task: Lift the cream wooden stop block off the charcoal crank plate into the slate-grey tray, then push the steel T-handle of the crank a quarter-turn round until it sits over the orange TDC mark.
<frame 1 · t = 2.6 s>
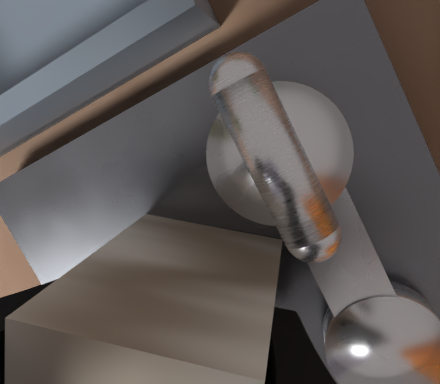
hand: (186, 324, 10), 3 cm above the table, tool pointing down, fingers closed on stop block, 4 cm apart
crank: (346, 280, 9), point 4 cm above the table, hinge at 90.0°
stop block: (203, 290, 12), point 1 cm above the table, touching crank plate, gripper
crank plate: (240, 256, 13), on the table
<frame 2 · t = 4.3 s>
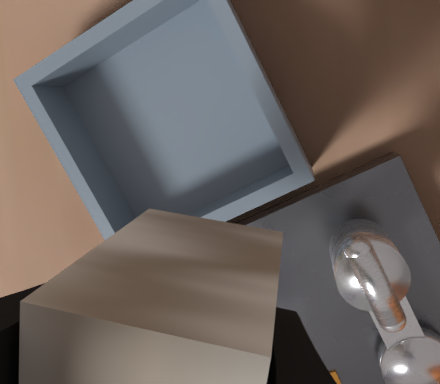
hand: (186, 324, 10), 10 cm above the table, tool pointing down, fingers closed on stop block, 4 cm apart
tray: (178, 123, 19), on the table
crank: (400, 332, 16), point 4 cm above the table, hinge at 90.0°
stop block: (206, 282, 12), point 8 cm above the table, touching gripper
crank plate: (319, 306, 20), on the table
when the fingers open (4 cm above the table, at t = 6.0 s): stop block drops 1 cm, resting on tray.
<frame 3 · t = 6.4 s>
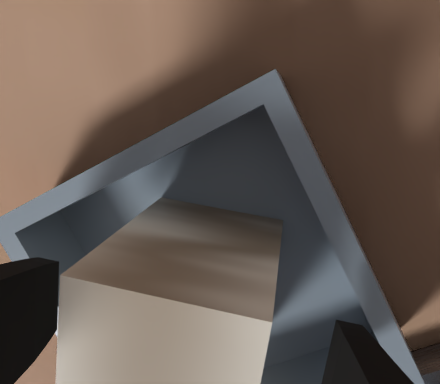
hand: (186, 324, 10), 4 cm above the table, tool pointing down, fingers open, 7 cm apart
tray: (216, 260, 14), on the table
stop block: (212, 265, 14), point 1 cm above the table, touching tray
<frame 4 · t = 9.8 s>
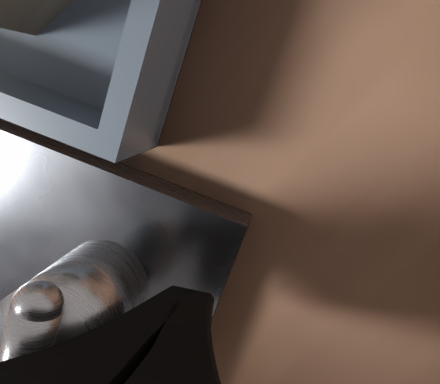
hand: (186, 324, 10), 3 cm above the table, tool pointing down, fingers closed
crank plate: (37, 291, 14), on the table
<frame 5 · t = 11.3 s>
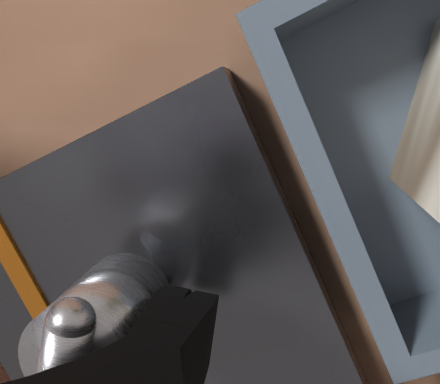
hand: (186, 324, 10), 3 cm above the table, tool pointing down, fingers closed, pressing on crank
crank plate: (156, 309, 14), on the table
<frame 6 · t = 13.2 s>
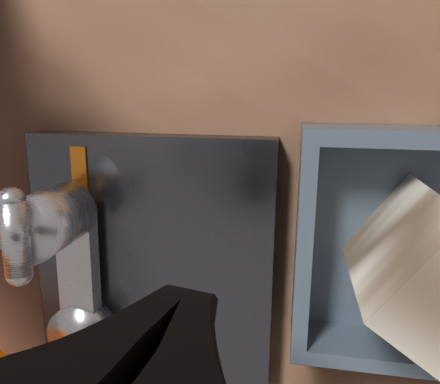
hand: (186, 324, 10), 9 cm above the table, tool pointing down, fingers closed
tray: (407, 236, 17), on the table
crank: (55, 295, 16), point 4 cm above the table, hinge at 179.2°
stop block: (413, 241, 17), point 1 cm above the table, touching tray
crank plate: (157, 260, 20), on the table
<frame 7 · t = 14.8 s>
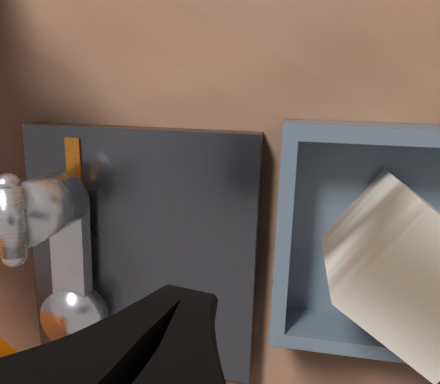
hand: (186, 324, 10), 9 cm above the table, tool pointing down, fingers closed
tray: (383, 228, 18), on the table
crank: (47, 278, 17), point 4 cm above the table, hinge at 179.2°
stop block: (388, 232, 18), point 1 cm above the table, touching tray
crank plate: (147, 248, 21), on the table
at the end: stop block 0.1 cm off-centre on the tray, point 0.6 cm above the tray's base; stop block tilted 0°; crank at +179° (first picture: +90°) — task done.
